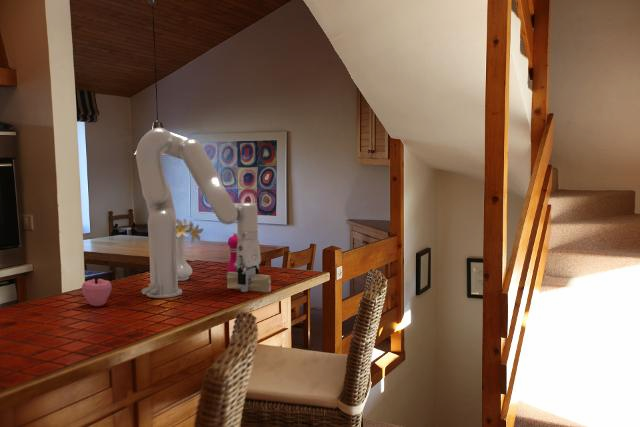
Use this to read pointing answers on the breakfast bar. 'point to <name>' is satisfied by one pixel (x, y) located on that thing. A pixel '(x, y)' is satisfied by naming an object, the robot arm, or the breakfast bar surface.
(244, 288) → the notched plate
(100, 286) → the apple
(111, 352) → the breakfast bar surface
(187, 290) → the breakfast bar surface
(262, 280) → the beige notched bar
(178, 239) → the flower vase
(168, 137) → the robot arm
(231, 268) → the pepper mill
